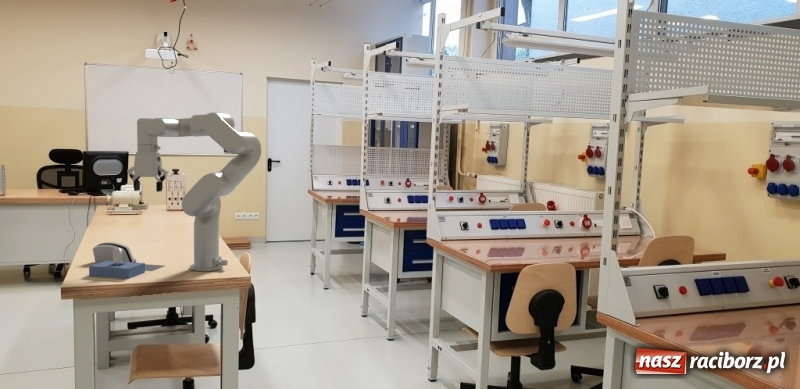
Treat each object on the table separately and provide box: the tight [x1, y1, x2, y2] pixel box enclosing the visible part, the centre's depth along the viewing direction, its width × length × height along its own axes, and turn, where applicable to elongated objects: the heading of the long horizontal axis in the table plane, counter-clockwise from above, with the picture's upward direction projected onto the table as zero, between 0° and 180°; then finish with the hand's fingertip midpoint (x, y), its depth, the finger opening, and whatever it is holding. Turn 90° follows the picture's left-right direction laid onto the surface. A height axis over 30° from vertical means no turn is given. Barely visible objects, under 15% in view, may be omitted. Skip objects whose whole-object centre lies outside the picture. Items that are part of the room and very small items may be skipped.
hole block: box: [88, 261, 146, 280], centre depth 215 cm, size 16×10×4 cm, turn 82°
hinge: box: [92, 241, 137, 263], centre depth 234 cm, size 17×5×10 cm, turn 75°
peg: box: [113, 248, 122, 266], centre depth 215 cm, size 3×3×10 cm
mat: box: [145, 263, 165, 272], centre depth 228 cm, size 14×10×1 cm
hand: (148, 191), depth 232 cm, fingers open, 9 cm apart
